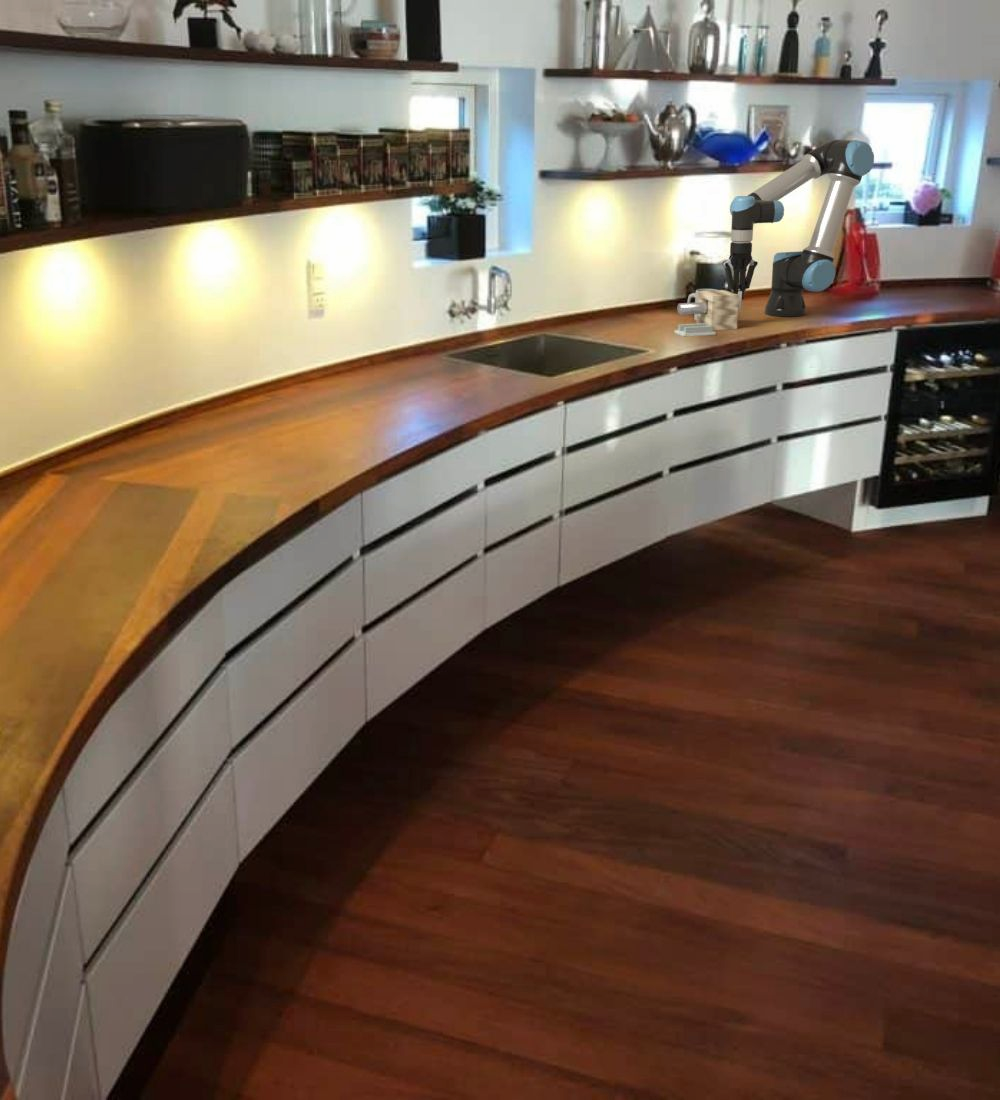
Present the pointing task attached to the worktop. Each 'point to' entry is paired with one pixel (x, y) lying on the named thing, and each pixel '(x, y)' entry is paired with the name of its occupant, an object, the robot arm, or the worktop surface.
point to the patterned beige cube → (719, 309)
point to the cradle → (694, 329)
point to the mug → (697, 298)
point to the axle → (692, 308)
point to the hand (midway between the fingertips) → (737, 309)
